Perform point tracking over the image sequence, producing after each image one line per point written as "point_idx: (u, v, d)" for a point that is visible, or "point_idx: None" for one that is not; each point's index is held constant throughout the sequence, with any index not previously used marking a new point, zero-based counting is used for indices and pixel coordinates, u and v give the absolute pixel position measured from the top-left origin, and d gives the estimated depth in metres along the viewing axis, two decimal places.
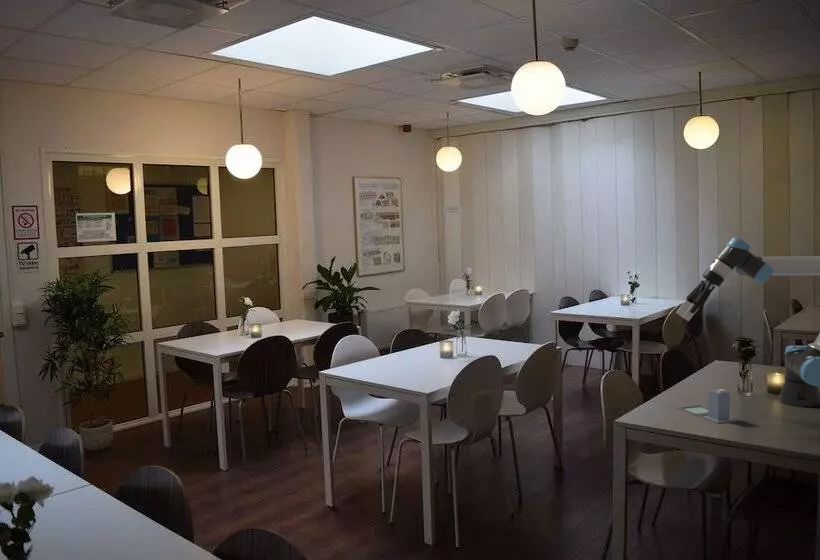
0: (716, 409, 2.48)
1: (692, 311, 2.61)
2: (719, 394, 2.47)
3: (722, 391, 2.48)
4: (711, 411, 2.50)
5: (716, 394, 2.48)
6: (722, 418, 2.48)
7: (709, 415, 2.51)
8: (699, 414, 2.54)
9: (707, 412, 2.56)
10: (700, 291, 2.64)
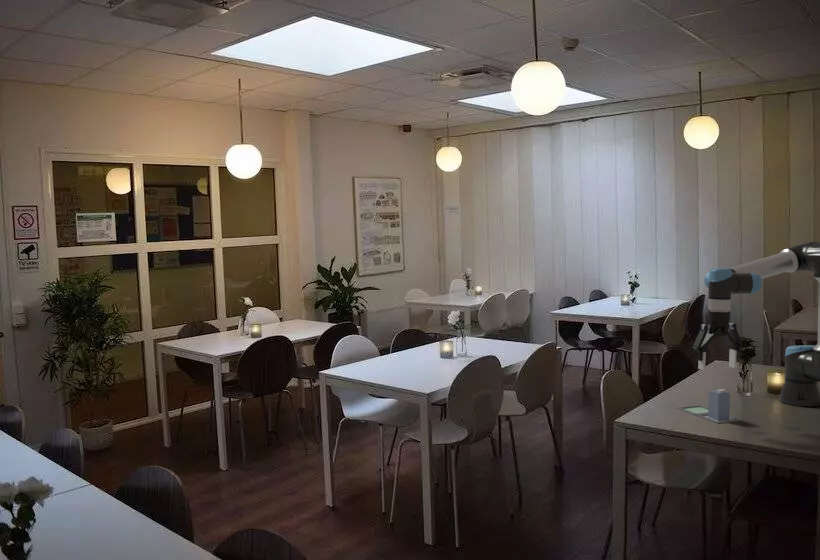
0: (716, 409, 2.48)
1: (698, 359, 2.47)
2: (719, 394, 2.47)
3: (722, 391, 2.48)
4: (711, 411, 2.50)
5: (716, 394, 2.48)
6: (722, 418, 2.48)
7: (709, 415, 2.51)
8: (699, 414, 2.54)
9: (707, 412, 2.56)
10: None
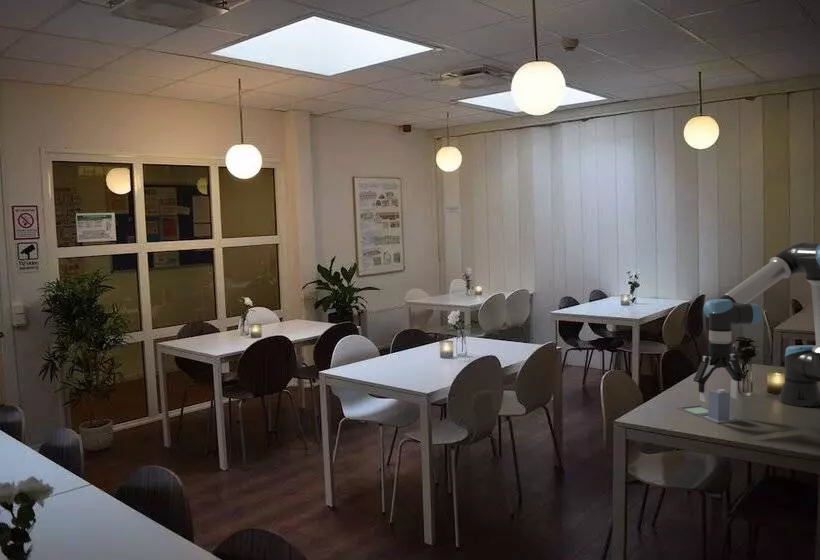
0: (716, 409, 2.48)
1: (699, 390, 2.47)
2: (719, 394, 2.47)
3: (722, 391, 2.48)
4: (711, 411, 2.50)
5: (716, 394, 2.48)
6: (722, 418, 2.48)
7: (709, 415, 2.51)
8: (699, 414, 2.54)
9: (707, 412, 2.56)
10: None
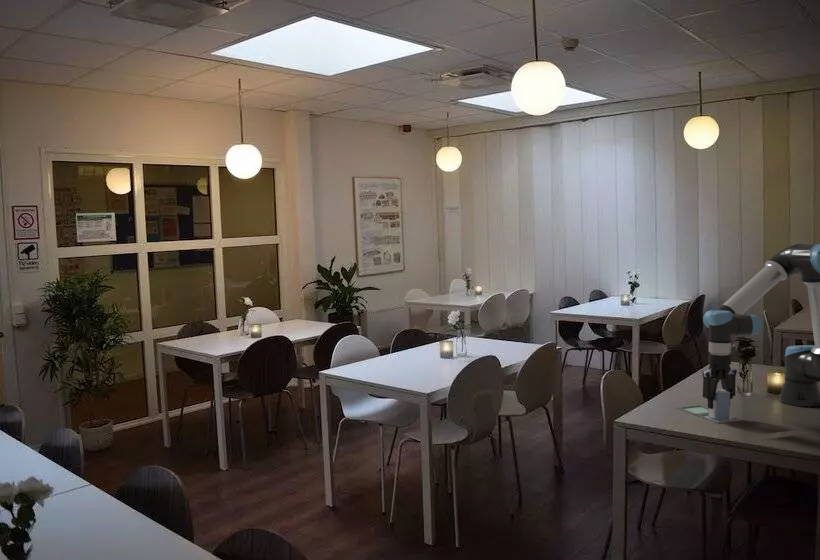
0: (716, 409, 2.48)
1: (708, 406, 2.49)
2: (719, 394, 2.47)
3: (722, 391, 2.48)
4: None
5: (716, 394, 2.48)
6: (722, 418, 2.48)
7: None
8: (699, 414, 2.54)
9: (707, 412, 2.56)
10: None
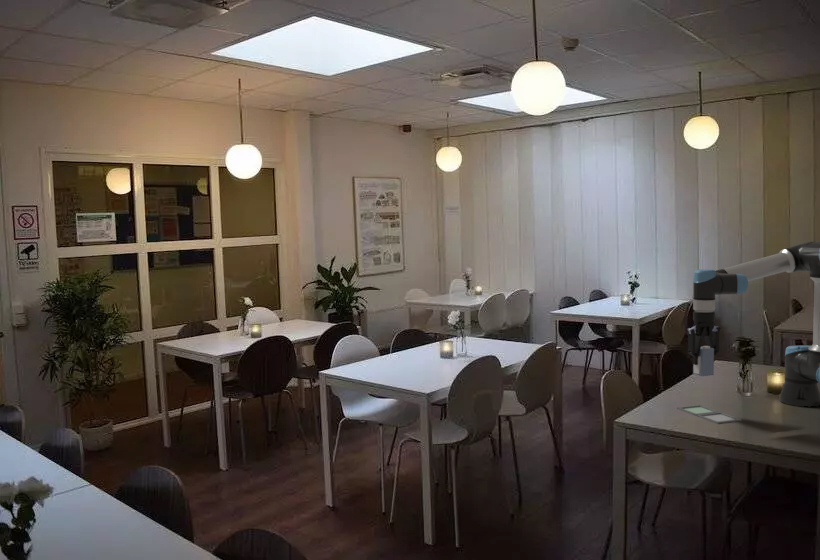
0: (701, 365, 2.55)
1: (693, 363, 2.56)
2: (704, 350, 2.54)
3: (706, 347, 2.55)
4: None
5: (701, 350, 2.54)
6: (707, 374, 2.55)
7: None
8: (699, 414, 2.54)
9: (707, 412, 2.56)
10: None
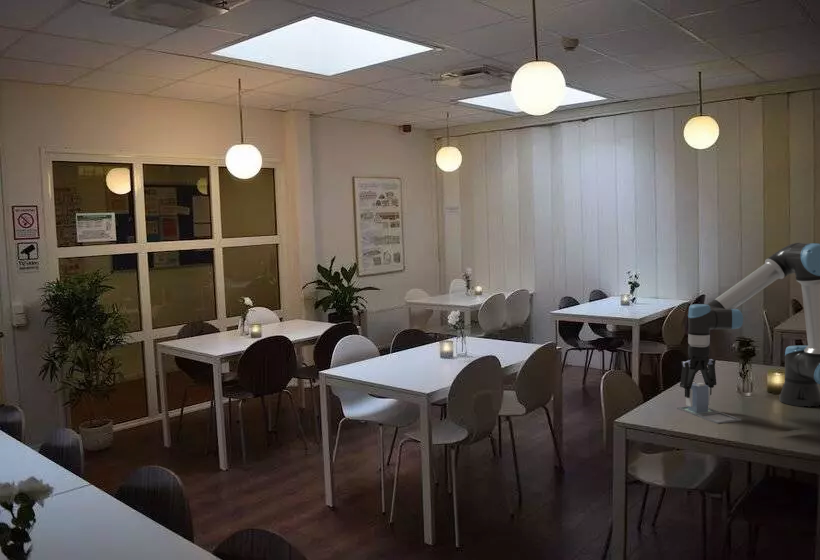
0: (695, 402, 2.58)
1: (685, 395, 2.59)
2: (698, 387, 2.57)
3: (701, 384, 2.58)
4: None
5: (695, 387, 2.58)
6: (701, 410, 2.58)
7: (689, 408, 2.62)
8: (699, 414, 2.54)
9: (707, 412, 2.56)
10: None
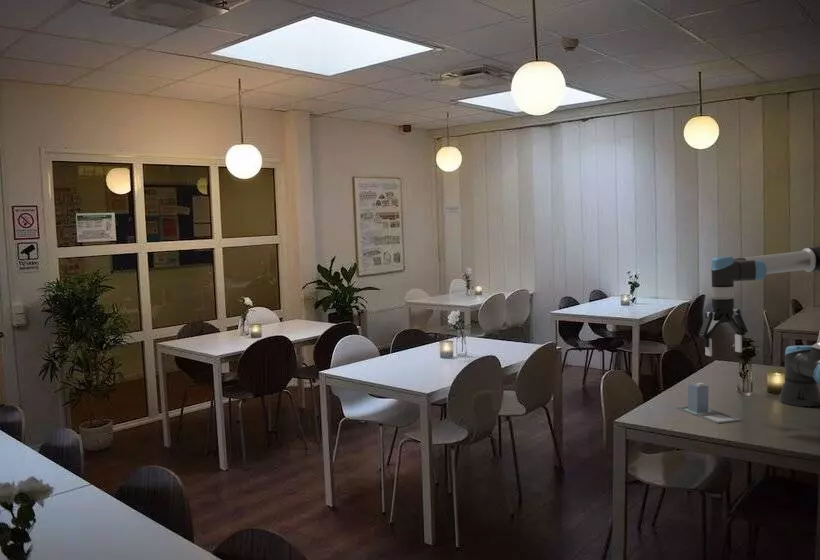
0: (695, 402, 2.58)
1: (705, 345, 2.56)
2: (698, 387, 2.57)
3: (701, 384, 2.58)
4: (691, 403, 2.61)
5: (695, 387, 2.58)
6: (701, 410, 2.58)
7: (689, 408, 2.62)
8: (699, 414, 2.54)
9: (707, 412, 2.56)
10: None
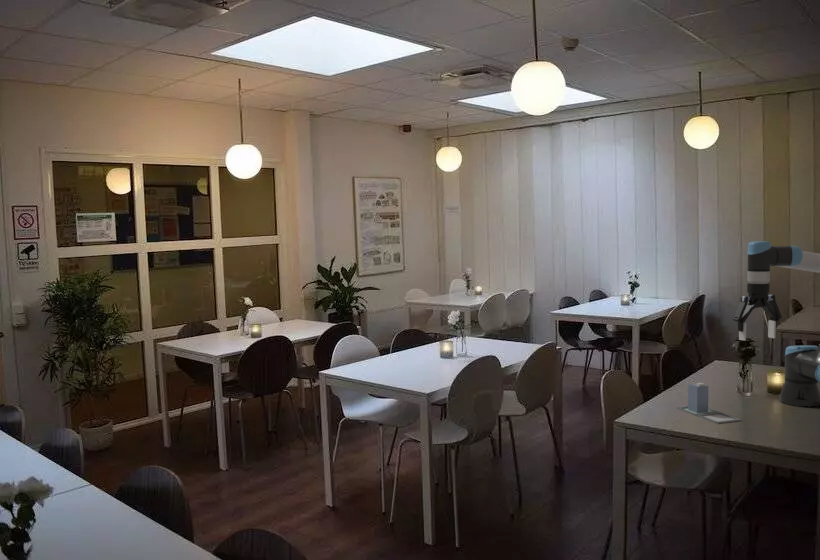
0: (695, 402, 2.58)
1: (739, 329, 2.55)
2: (698, 387, 2.57)
3: (701, 384, 2.58)
4: (691, 403, 2.61)
5: (695, 387, 2.58)
6: (701, 410, 2.58)
7: (689, 408, 2.62)
8: (699, 414, 2.54)
9: (707, 412, 2.56)
10: None
